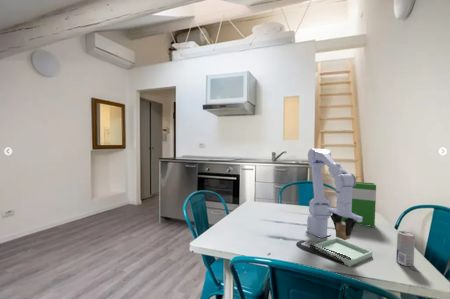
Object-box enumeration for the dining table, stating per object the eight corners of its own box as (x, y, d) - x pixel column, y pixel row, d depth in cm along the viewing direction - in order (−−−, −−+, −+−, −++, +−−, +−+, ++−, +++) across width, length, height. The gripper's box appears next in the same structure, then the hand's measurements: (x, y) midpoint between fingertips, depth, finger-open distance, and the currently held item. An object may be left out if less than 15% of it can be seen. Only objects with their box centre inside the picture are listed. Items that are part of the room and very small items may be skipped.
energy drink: (405, 260, 92) (407, 230, 91) (417, 267, 86) (418, 236, 86) (392, 260, 92) (394, 230, 91) (403, 267, 86) (405, 236, 86)
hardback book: (339, 221, 136) (341, 182, 135) (339, 218, 142) (340, 180, 142) (374, 227, 128) (376, 185, 127) (372, 223, 135) (374, 183, 134)
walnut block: (335, 236, 97) (336, 222, 97) (341, 234, 99) (341, 221, 99) (344, 240, 94) (345, 225, 94) (350, 238, 96) (350, 224, 96)
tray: (314, 249, 99) (314, 244, 99) (336, 241, 107) (336, 237, 107) (349, 267, 86) (349, 261, 86) (372, 256, 94) (372, 251, 94)
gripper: (367, 205, 92) (365, 238, 92) (334, 197, 104) (333, 226, 105) (357, 207, 88) (356, 241, 89) (324, 198, 101) (323, 229, 101)
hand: (342, 233), depth 96 cm, fingers closed on walnut block, 4 cm apart
